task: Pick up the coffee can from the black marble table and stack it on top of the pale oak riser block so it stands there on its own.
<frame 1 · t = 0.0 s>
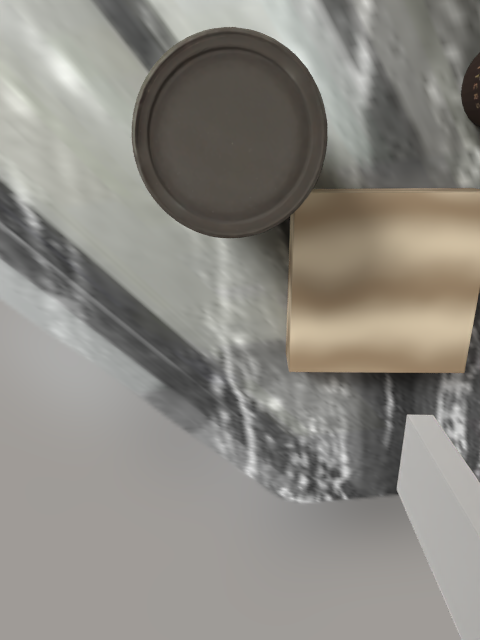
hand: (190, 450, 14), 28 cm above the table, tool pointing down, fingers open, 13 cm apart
coffee can: (237, 144, 37), on the table
oak riser: (373, 276, 41), on the table
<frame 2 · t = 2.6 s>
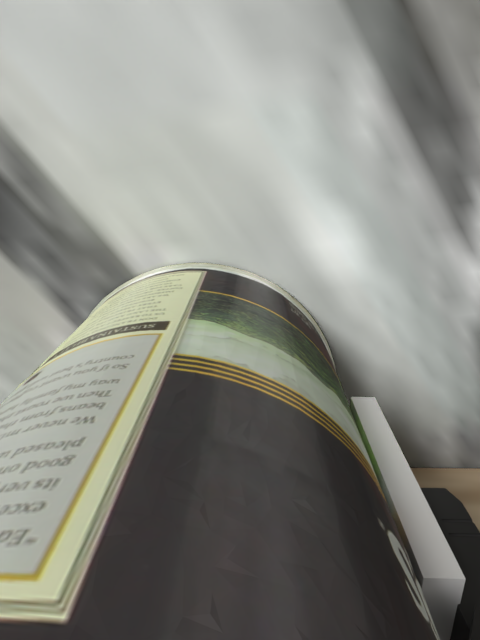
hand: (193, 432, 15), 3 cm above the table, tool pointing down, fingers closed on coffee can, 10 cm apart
coffee can: (202, 387, 18), on the table, touching gripper
oak riser: (470, 603, 21), on the table
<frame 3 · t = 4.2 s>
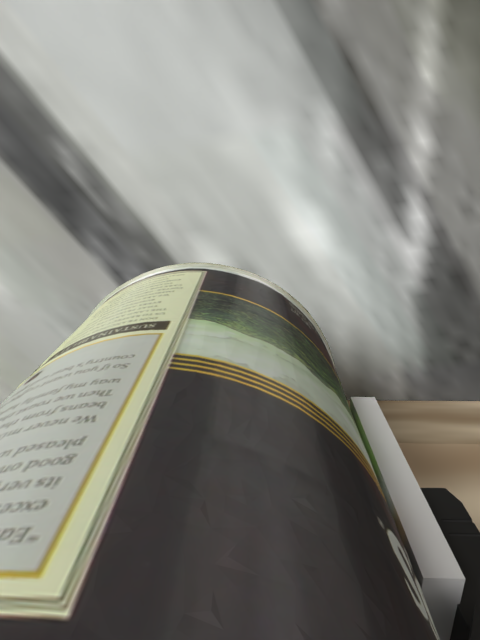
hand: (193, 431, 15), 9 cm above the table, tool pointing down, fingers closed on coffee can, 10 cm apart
coffee can: (202, 387, 18), point 6 cm above the table, touching gripper
oak riser: (421, 512, 27), on the table
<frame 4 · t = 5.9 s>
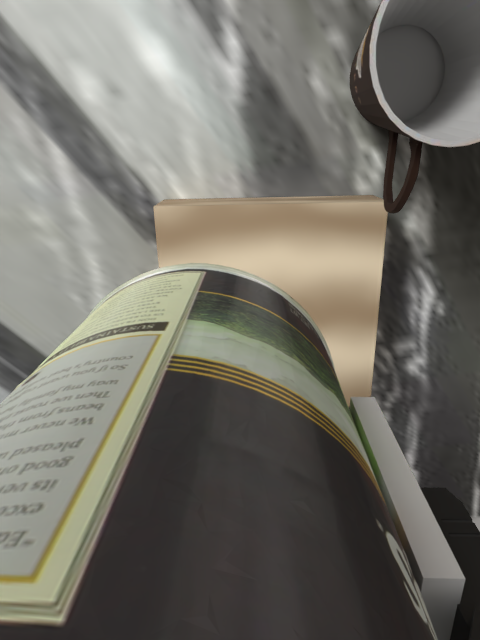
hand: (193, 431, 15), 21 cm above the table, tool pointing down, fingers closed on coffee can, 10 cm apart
coffee mug: (381, 96, 31), on the table
coffee can: (201, 388, 18), point 18 cm above the table, touching gripper
oak riser: (268, 296, 36), on the table
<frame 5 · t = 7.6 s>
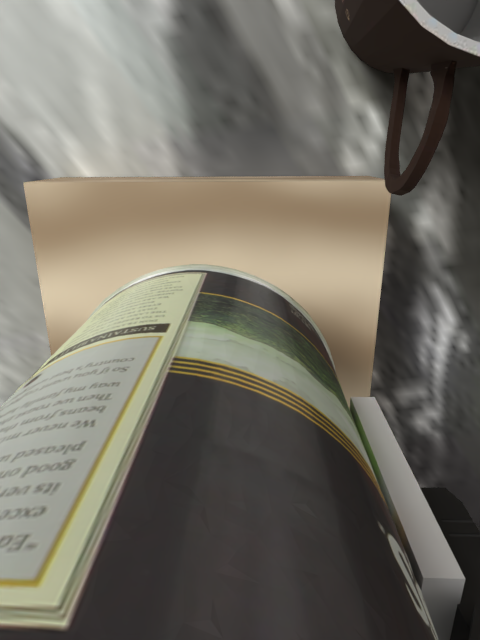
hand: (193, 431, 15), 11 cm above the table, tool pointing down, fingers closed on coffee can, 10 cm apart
coffee mug: (383, 24, 20), on the table
coffee can: (202, 389, 18), point 8 cm above the table, touching gripper
oak riser: (217, 321, 25), on the table
when the fingers open (7 cm above the table, at t = 9.1 s): coffee can stays where it is, resting on oak riser.
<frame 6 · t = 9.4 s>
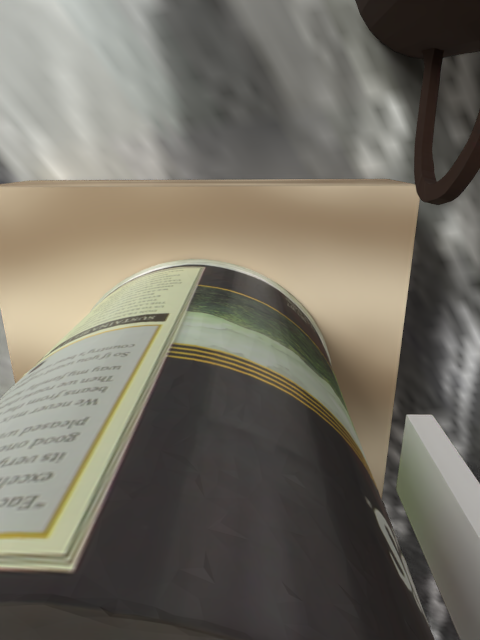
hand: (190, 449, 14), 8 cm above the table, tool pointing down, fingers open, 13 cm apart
coffee can: (201, 381, 18), point 4 cm above the table, touching oak riser
oak riser: (211, 344, 22), on the table
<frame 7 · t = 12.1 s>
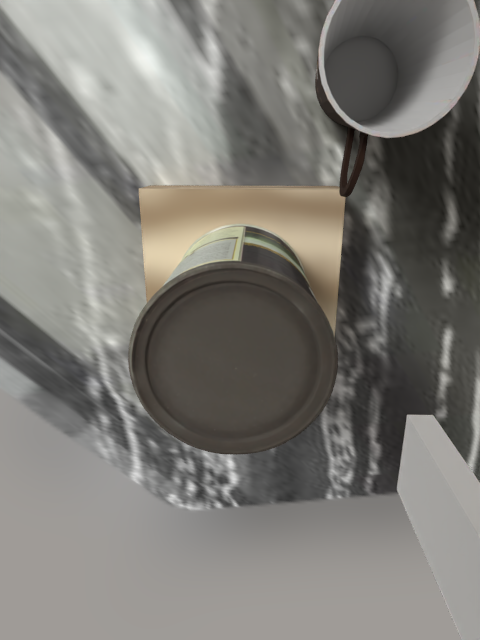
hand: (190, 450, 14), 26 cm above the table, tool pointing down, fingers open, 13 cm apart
coffee mug: (343, 98, 35), on the table
coffee can: (240, 287, 36), point 4 cm above the table, touching oak riser
oak riser: (242, 276, 39), on the table
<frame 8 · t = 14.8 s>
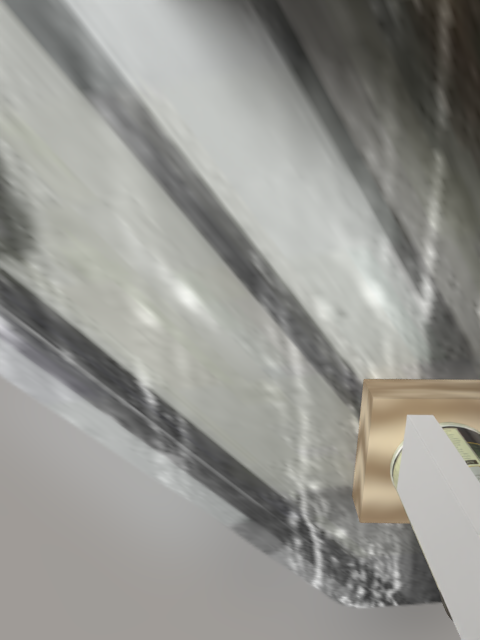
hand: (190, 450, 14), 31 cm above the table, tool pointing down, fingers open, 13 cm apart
coffee can: (439, 463, 46), point 4 cm above the table, touching oak riser
oak riser: (427, 441, 50), on the table
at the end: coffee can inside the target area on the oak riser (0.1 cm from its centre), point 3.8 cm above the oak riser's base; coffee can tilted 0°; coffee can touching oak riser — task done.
